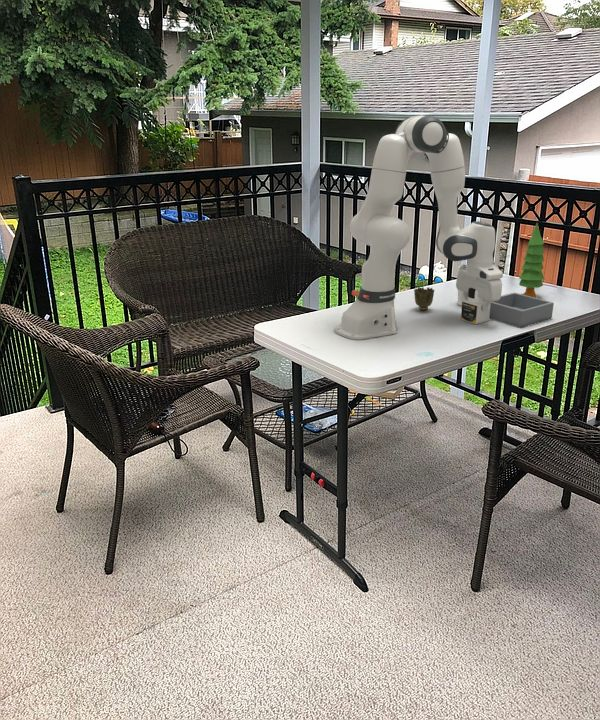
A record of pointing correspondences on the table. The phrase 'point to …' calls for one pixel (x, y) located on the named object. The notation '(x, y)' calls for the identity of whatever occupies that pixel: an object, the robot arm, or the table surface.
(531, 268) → the decorative tree
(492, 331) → the table surface
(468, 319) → the medicine bottle
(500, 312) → the bin
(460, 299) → the drinking glass
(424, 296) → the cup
